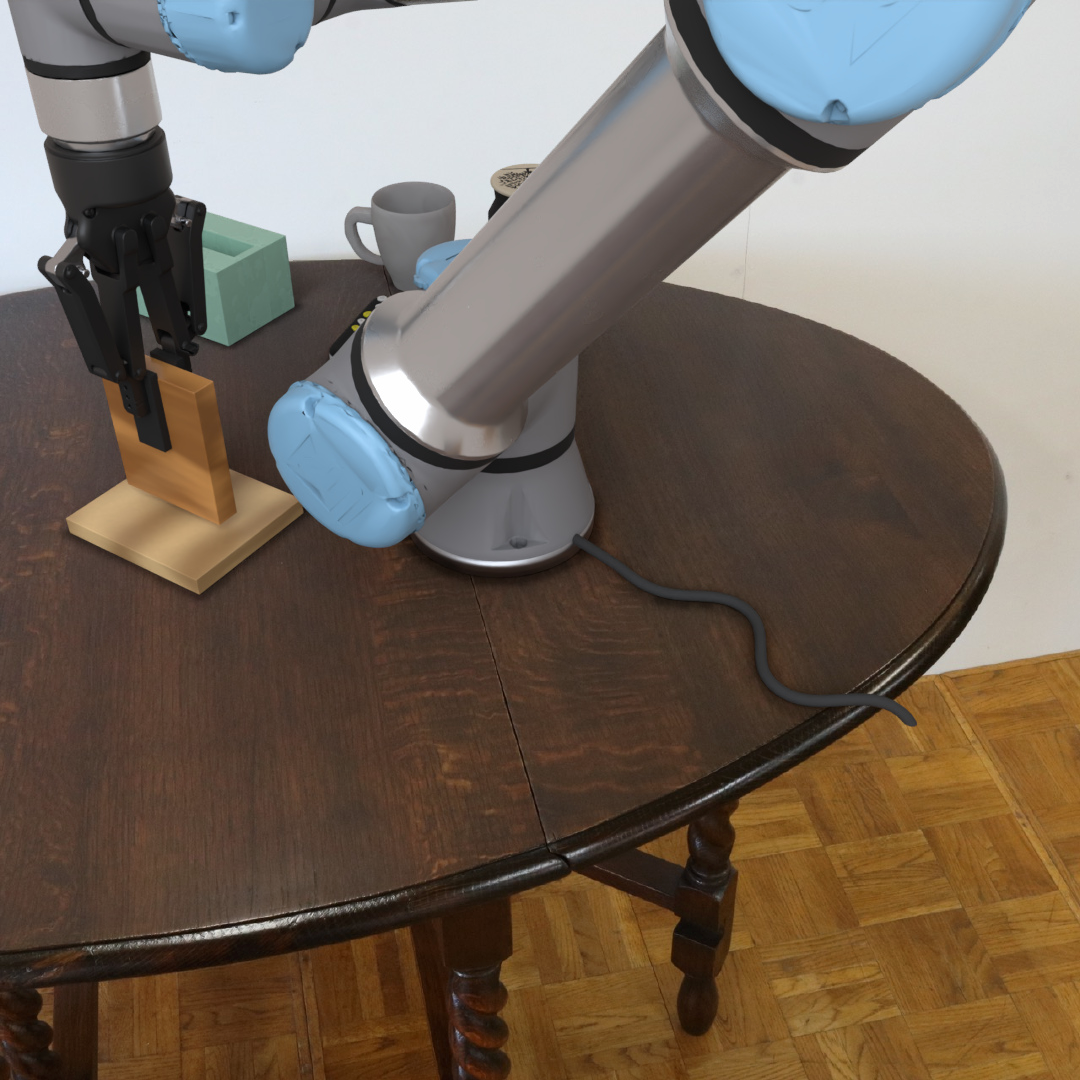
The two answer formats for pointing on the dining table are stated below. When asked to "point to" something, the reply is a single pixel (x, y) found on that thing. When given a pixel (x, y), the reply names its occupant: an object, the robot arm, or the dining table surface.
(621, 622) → the dining table surface
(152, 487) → the toast
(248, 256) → the toaster
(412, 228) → the mug
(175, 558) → the board
